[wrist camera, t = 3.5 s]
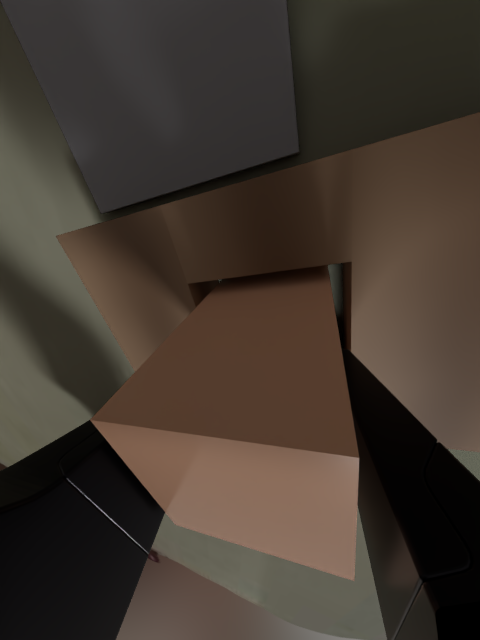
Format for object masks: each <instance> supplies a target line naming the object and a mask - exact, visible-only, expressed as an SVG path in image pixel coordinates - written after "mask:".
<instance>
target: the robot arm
mask: <svg viewBox="0 0 480 640" xmlns="http://www.w3.org/2000/svg"><path fill="white" fill-rule="evenodd" d="M341 350H342V356H343V362H344V368H345V374H346V380H347V386H348V392H349V398H350V404H351V410H352V416H353V422H354V429H355V435H356V441H357V447H358V453H359V479H358V503H357V504H358V509H359V513H360V518H361V522H362V527H363V531H364V536H365V541H366V545H367V550H368V554H369V559H370V563H371V568H372V572H373V577H374V581H375V586H376V590H377V595H378V600H379V604H380V609H381V613H382V618H383V622H384V627H385V631H386V636H387V640H480V481H479V480H478V479H477V478H476V477H475V476H474V475H473V474H472V473H471V472H470V471H469V470H468V469H467V468H466V467H465V466H464V465H463V464H461V463H460V462H459V461H458V460H457V459H456V458H455V457H454V456H453V455H452V454H451V453H450V452H449V451H448V449H447V448H446V447H445V446H444V445H443V444H442V443H440V442H437V438H436V437H435V436H434V435H433V434H432V433H431V432H430V431H429V430H428V429H427V428H426V427H425V426H424V425H423V424H422V423H421V422H420V421H419V420H418V419H417V418H416V417H415V416H414V415H413V414H412V413H411V412H410V411H409V410H408V409H407V408H406V407H405V406H404V405H403V404H402V403H401V402H400V401H399V400H398V399H397V398H396V397H395V396H394V395H393V394H392V393H391V392H390V391H389V390H388V389H387V388H386V387H385V386H384V385H383V384H382V383H381V382H380V381H379V380H378V379H377V378H376V377H375V376H374V375H373V373H372V372H371V371H370V370H369V369H368V368H367V367H366V366H365V365H364V364H363V363H362V362H361V361H360V360H359V359H358V358H357V357H356V356H355V355H354V354H353V353H352V352H351V351H350V350H348V349H341ZM164 514H165V511H164V510H163V509H162V508H161V506H160V505H159V504H158V503H157V501H156V500H155V499H154V498H153V497H152V495H151V494H150V493H149V492H148V490H147V489H146V488H145V487H144V486H143V484H142V483H141V482H140V481H139V479H138V478H137V477H136V476H135V475H134V473H133V472H132V471H131V470H130V468H129V467H128V466H127V465H126V463H125V462H124V461H123V460H122V459H121V457H120V456H119V455H118V454H117V452H116V451H115V450H114V449H113V448H112V446H111V445H110V444H109V443H108V441H107V440H106V439H105V438H104V437H103V435H102V434H101V433H100V432H99V430H98V429H97V428H96V427H95V425H94V424H93V423H92V422H91V421H90V420H89V421H87V422H86V423H84V424H82V425H81V426H79V427H77V428H76V429H74V430H72V431H70V432H69V433H67V434H65V435H64V436H62V437H60V438H58V439H57V440H55V441H53V442H52V443H50V444H48V445H46V446H45V447H43V448H41V449H39V450H38V451H36V452H34V453H32V454H31V455H29V456H27V457H25V458H24V459H22V460H20V461H19V462H17V463H15V464H13V465H11V466H9V467H8V468H5V469H3V470H1V471H0V640H116V638H117V635H118V632H119V630H120V627H121V625H122V622H123V619H124V617H125V614H126V612H127V609H128V607H129V604H130V602H131V599H132V597H133V594H134V591H135V589H136V586H137V584H138V581H139V578H140V576H141V573H142V571H143V568H144V566H145V563H146V560H147V558H148V554H149V552H150V550H151V547H152V545H153V542H154V539H155V537H156V534H157V532H158V529H159V526H160V524H161V521H162V519H163V516H164Z"/></svg>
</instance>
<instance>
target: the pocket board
mask: <svg viewBox="0 0 480 640" xmlns="http://www.w3.org/2000/svg"><path fill="white" fill-rule="evenodd" d="M56 237H57V239H58V241H59V243H60V244H61V246H62V248H63V249H64V251H65V253H66V254H67V256H68V258H69V260H70V261H71V263H72V265H73V266H74V268H75V270H76V272H77V273H78V275H79V277H80V278H81V280H82V282H83V284H84V285H85V287H86V289H87V290H88V292H89V294H90V296H91V297H92V299H93V301H94V302H95V304H96V306H97V307H98V309H99V311H100V313H101V314H102V316H103V318H104V319H105V321H106V323H107V325H108V326H109V328H110V330H111V331H112V333H113V335H114V337H115V338H116V340H117V342H118V343H119V345H120V347H121V348H122V350H123V352H124V354H125V355H126V357H127V359H128V360H129V362H130V364H131V366H132V367H133V369H134V371H135V372H136V371H137V370H138V368H139V367H140V366H141V365H142V364H143V363H144V362H145V361H146V360H147V359H148V358H149V357H150V356H151V355H152V354H153V353H154V351H155V350H156V349H157V348H158V347H159V346H160V345H161V344H162V343H163V342H164V341H165V340H166V339H167V338H168V337H169V336H170V335H171V333H172V332H173V331H174V330H175V329H176V328H177V327H178V326H179V325H180V324H181V323H182V322H183V321H184V320H185V319H186V318H187V316H188V315H189V314H190V313H191V312H192V311H193V310H194V309H195V308H196V307H197V306H198V305H199V304H200V303H201V302H202V301H203V300H204V298H205V297H206V296H207V295H208V294H209V293H210V292H211V291H212V290H213V289H214V288H215V287H216V286H217V285H218V284H219V282H218V280H219V279H226V278H234V277H241V276H249V275H256V274H263V273H271V272H278V271H286V270H293V269H301V268H308V267H316V266H323V265H330V264H338V263H343V332H344V349H348V350H350V351H351V352H352V353H353V354H354V355H355V356H356V357H357V358H358V359H359V360H360V361H361V362H362V363H363V364H364V365H365V366H366V367H367V368H368V369H369V370H370V371H371V372H372V373H373V375H374V376H375V377H376V378H377V379H378V380H379V381H380V382H381V383H382V384H383V385H384V386H385V387H386V388H387V389H388V390H389V391H390V392H391V393H392V394H393V395H394V396H395V397H396V398H397V399H398V400H399V401H400V402H401V403H402V404H403V405H404V406H405V407H406V408H407V409H408V410H409V411H410V412H411V413H412V414H413V415H414V416H415V417H416V418H417V419H418V420H419V421H420V422H421V423H422V424H423V425H424V426H425V427H426V428H427V429H428V430H429V431H430V432H431V433H432V434H433V435H434V436H435V437H436V438H437V442H440V443H442V444H443V445H444V446H445V447H446V448H448V449H456V450H465V451H474V452H480V112H478V113H475V114H471V115H468V116H464V117H461V118H458V119H454V120H451V121H447V122H444V123H440V124H437V125H434V126H430V127H427V128H423V129H420V130H417V131H413V132H410V133H406V134H403V135H399V136H396V137H393V138H389V139H386V140H382V141H379V142H376V143H372V144H369V145H365V146H362V147H358V148H355V149H352V150H348V151H345V152H341V153H338V154H334V155H331V156H328V157H324V158H321V159H317V160H314V161H311V162H307V163H304V164H300V165H297V166H293V167H290V168H287V169H283V170H280V171H276V172H273V173H270V174H266V175H263V176H259V177H256V178H252V179H249V180H246V181H242V182H239V183H235V184H232V185H229V186H225V187H222V188H218V189H215V190H211V191H208V192H205V193H201V194H198V195H194V196H191V197H187V198H184V199H181V200H177V201H174V202H170V203H167V204H164V205H160V206H157V207H153V208H150V209H146V210H143V211H140V212H136V213H133V214H129V215H126V216H123V217H119V218H116V219H112V220H109V221H105V222H102V223H99V224H95V225H92V226H88V227H85V228H82V229H78V230H75V231H71V232H68V233H64V234H61V235H58V236H56Z"/></svg>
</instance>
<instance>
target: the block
mask: <svg viewBox="0 0 480 640" xmlns="http://www.w3.org/2000/svg"><path fill="white" fill-rule="evenodd" d="M90 421H91V422H92V423H93V424H94V425H95V427H96V428H97V429H98V430H99V432H100V433H101V434H102V435H103V437H104V438H105V439H106V440H107V441H108V443H109V444H110V445H111V446H112V448H113V449H114V450H115V451H116V452H117V454H118V455H119V456H120V457H121V459H122V460H123V461H124V462H125V463H126V465H127V466H128V467H129V468H130V470H131V471H132V472H133V473H134V475H135V476H136V477H137V478H138V479H139V481H140V482H141V483H142V484H143V486H144V487H145V488H146V489H147V490H148V492H149V493H150V494H151V495H152V497H153V498H154V499H155V500H156V501H157V503H158V504H159V505H160V506H161V508H162V509H163V510H164V511H165V513H166V514H167V515H168V516H169V517H170V519H171V520H172V521H173V522H174V524H175V525H178V526H181V527H184V528H187V529H191V530H194V531H197V532H200V533H203V534H206V535H210V536H213V537H216V538H219V539H222V540H226V541H229V542H232V543H235V544H238V545H241V546H245V547H248V548H251V549H254V550H257V551H260V552H264V553H267V554H270V555H273V556H276V557H280V558H283V559H286V560H289V561H292V562H295V563H299V564H302V565H305V566H308V567H311V568H315V569H318V570H321V571H324V572H327V573H330V574H334V575H337V576H340V577H343V578H346V579H349V580H353V581H354V576H355V551H356V527H357V503H358V479H359V453H358V447H357V441H356V435H355V429H354V422H353V416H352V410H351V404H350V398H349V392H348V386H347V380H346V374H345V368H344V362H343V356H342V350H341V344H340V338H339V331H338V325H337V319H336V313H335V307H334V301H333V295H332V289H331V283H330V277H329V271H328V265H323V266H316V267H308V268H301V269H293V270H286V271H278V272H271V273H263V274H256V275H249V276H241V277H234V278H226V279H222V280H221V281H220V283H219V284H218V285H217V286H216V287H215V288H214V289H213V290H212V291H211V292H210V293H209V294H208V295H207V296H206V297H205V298H204V300H203V301H202V302H201V303H200V304H199V305H198V306H197V307H196V308H195V309H194V310H193V311H192V312H191V313H190V314H189V315H188V316H187V318H186V319H185V320H184V321H183V322H182V323H181V324H180V325H179V326H178V327H177V328H176V329H175V330H174V331H173V332H172V333H171V335H170V336H169V337H168V338H167V339H166V340H165V341H164V342H163V343H162V344H161V345H160V346H159V347H158V348H157V349H156V350H155V351H154V353H153V354H152V355H151V356H150V357H149V358H148V359H147V360H146V361H145V362H144V363H143V364H142V365H141V366H140V367H139V368H138V370H137V371H136V372H135V373H134V374H133V375H132V376H131V377H130V378H129V379H128V380H127V381H126V382H125V383H124V384H123V385H122V387H121V388H120V389H119V390H118V391H117V392H116V393H115V394H114V395H113V396H112V397H111V398H110V399H109V400H108V401H107V402H106V403H105V405H104V406H103V407H102V408H101V409H100V410H99V411H98V412H97V413H96V414H95V415H94V416H93V417H92V418H91V419H90Z"/></svg>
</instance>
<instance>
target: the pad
mask: <svg viewBox="0 0 480 640" xmlns="http://www.w3.org/2000/svg"><path fill="white" fill-rule="evenodd" d="M0 1H1V4H2V6H3V8H4V10H5V12H6V14H7V16H8V18H9V20H10V23H11V25H12V27H13V29H14V31H15V33H16V35H17V37H18V39H19V42H20V44H21V46H22V48H23V50H24V52H25V54H26V56H27V59H28V61H29V63H30V65H31V67H32V69H33V71H34V73H35V75H36V78H37V80H38V82H39V84H40V86H41V88H42V90H43V92H44V94H45V97H46V99H47V101H48V103H49V105H50V107H51V109H52V111H53V113H54V116H55V118H56V120H57V122H58V124H59V126H60V128H61V130H62V132H63V135H64V137H65V139H66V141H67V143H68V145H69V147H70V149H71V151H72V154H73V156H74V158H75V160H76V162H77V164H78V166H79V168H80V170H81V173H82V175H83V177H84V179H85V181H86V183H87V185H88V187H89V189H90V192H91V194H92V196H93V198H94V200H95V202H96V204H97V206H98V208H99V211H100V213H101V214H102V213H108V212H111V211H114V210H118V209H121V208H124V207H127V206H131V205H134V204H137V203H140V202H143V201H147V200H150V199H153V198H156V197H160V196H163V195H166V194H169V193H173V192H176V191H179V190H182V189H185V188H189V187H192V186H195V185H198V184H202V183H205V182H208V181H211V180H214V179H218V178H221V177H224V176H227V175H231V174H234V173H237V172H240V171H243V170H247V169H250V168H253V167H256V166H260V165H263V164H266V163H269V162H272V161H276V160H279V159H282V158H285V157H289V156H292V155H295V154H298V153H300V152H299V140H298V128H297V116H296V104H295V92H294V80H293V68H292V56H291V44H290V32H289V20H288V8H287V0H0Z"/></svg>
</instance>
